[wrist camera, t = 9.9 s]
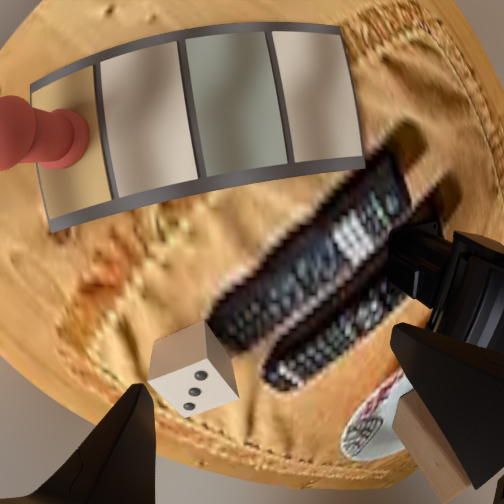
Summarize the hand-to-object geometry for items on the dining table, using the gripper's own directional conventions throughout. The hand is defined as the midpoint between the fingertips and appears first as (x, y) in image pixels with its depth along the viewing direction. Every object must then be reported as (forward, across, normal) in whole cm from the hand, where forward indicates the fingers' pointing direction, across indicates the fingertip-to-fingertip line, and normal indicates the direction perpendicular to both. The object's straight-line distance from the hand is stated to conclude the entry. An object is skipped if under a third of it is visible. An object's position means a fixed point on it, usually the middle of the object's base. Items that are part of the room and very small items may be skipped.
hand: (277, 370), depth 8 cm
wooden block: (+14, -25, +32) cm, 43 cm away
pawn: (+11, +10, -11) cm, 19 cm away
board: (+13, +2, -11) cm, 17 cm away
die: (+13, +5, +8) cm, 16 cm away
